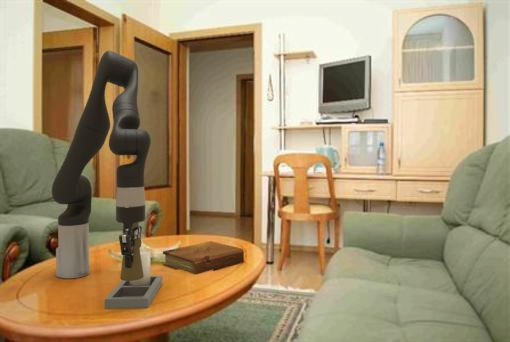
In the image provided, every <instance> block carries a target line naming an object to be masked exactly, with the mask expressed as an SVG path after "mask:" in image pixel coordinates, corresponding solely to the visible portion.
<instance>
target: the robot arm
mask: <svg viewBox="0 0 510 342" xmlns="http://www.w3.org/2000/svg"><path fill="white" fill-rule="evenodd" d="M94 75H95V76H94V79H93V82H92V86H91V89H90V92H89V95H88V99H87V101H86V103H85V106H84V108H83V111H82V114H81V117H80V118H79V121H78V124H77V126H76V129H75V133H74V135H73V138H72V141H71V143H70V145H69V147H68V151H67V153H66V156H65V158H64V160H63V163H62V165H61V167H60V168H59V170H58V173H57V174H56V176H55V178H54V181H53V182H52V187H51V196H52V199H53V200H54V202H56V204H59V205H67V207H66V208H65V210H64V211H63V212H61V214H59V215H58V217H57V227H58V228H57V232H58V233H57V234H58V235H57V236H58V246H57V247H56V249H55V263H56V264H55V267H56V268H55V273H56V275H55V276H56V278H61V279H78V278H83V277H86V276H87V275H89V274H90V228H89V226H90V225H89V224H90V222H89V219H90V216H91V213H92V200H93V199H92V198H93V197H92V196H93V195H92V192H93V191H92V184H91V182H90V180H89V178H88V177H86V176H85V175H82V174H83V171H84V170H85V167H87V165H88V164H89V162H90V161H92V159H93V158H94V157H95V156H96V155H97V154H98V153H99V152H100V151H101V149H102V148H103V146H104V144H105V142H106V140H107V137H108V135H109V139H108V148H109V151H110V152H111V153H113V154H114V155H115V156H136V158H135V160H133V162H130V163H125V164H121V165H118V167H117V168H116V192H115V220H116V222H117V223H119V224H123V225H122V229H121V234H120V235H119V236H118V241H119V246H120V254H121V256H123V255H124V256H125V266H126V268H132V263H133V258H134V246H135V245H136V238H137V237H139V238H140V239H141V240H142V229H143V227H142V225H140V224H139V223H142V222H145V221H146V194H145V193H146V192H145V168H146V161H147V158H148V155H149V150H150V147H151V140H152V139H151V137H150V136H151V135H150V134H149V132H148V131H146V129H143V128H142V129H139V128H140V125H141V119H140V113H139V108H138V89H139V67H138V64H137V62H135V60H132V59H130V58H129V57H127V56H124V55H121V54H119V53H117V52H114V51H113V50H112V51H111V50H106V51H105V52H103V54H102V56H101V57H100V60H99V63H98V65H97V68H96V71H95V74H94ZM108 83H110V84H112V85H115V86H118V87H121V88H123V89H124V90H123V91H121V93H119V94H118V95H117V96H116V97H115V98H114V100H113V102H112V107H111V111H112V120H113V125H112V129H111V132H110V128H111V120H110V115H109V111H108V107H107V103H106V87H107V84H108ZM109 132H110V134H109ZM131 241H133V243H132V244H131ZM126 248H128V250H126ZM128 264H129V265H128Z"/></svg>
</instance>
